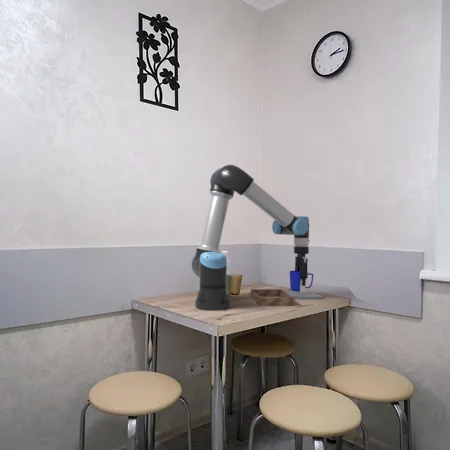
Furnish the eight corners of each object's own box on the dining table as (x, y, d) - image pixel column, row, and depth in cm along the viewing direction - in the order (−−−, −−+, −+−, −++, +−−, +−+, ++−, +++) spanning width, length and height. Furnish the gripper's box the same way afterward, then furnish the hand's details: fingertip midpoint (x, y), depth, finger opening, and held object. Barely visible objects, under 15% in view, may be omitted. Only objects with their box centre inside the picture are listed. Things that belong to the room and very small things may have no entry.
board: (287, 299, 179) (287, 296, 179) (280, 293, 193) (280, 291, 193) (322, 299, 180) (322, 296, 180) (312, 293, 194) (312, 291, 194)
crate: (259, 305, 162) (259, 297, 162) (250, 296, 185) (250, 289, 185) (293, 305, 163) (293, 298, 163) (281, 296, 186) (281, 289, 186)
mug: (313, 293, 181) (313, 273, 181) (289, 291, 183) (289, 272, 183) (312, 290, 189) (312, 271, 189) (289, 289, 191) (289, 270, 191)
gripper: (314, 247, 177) (314, 294, 177) (302, 245, 197) (301, 287, 197) (300, 247, 177) (299, 294, 176) (289, 245, 196) (288, 287, 196)
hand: (300, 290), depth 187 cm, fingers closed on mug, 7 cm apart
